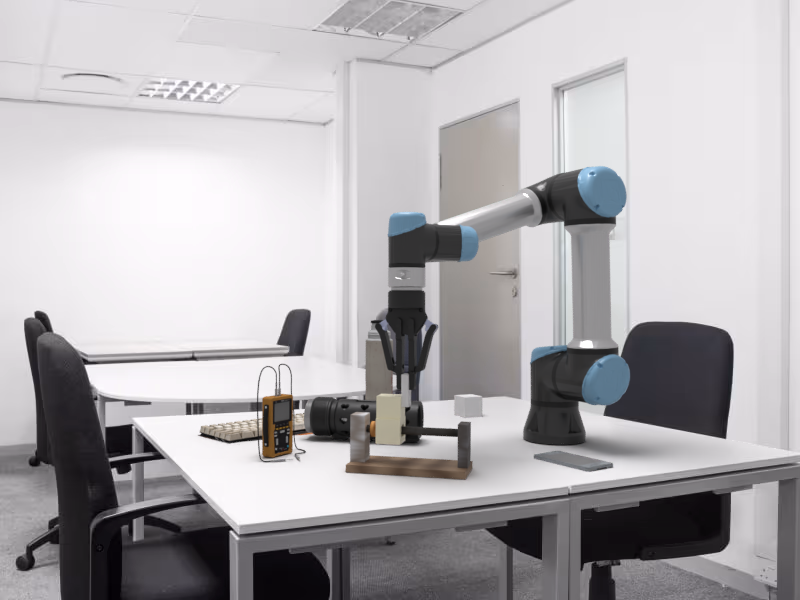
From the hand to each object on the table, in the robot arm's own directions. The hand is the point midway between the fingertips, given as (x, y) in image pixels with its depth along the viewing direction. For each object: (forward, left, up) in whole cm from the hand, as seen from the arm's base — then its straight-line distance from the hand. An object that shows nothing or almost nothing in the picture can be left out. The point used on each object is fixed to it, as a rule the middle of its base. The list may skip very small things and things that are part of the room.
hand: (406, 406), depth 158 cm
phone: (-33, -16, -14) cm, 39 cm away
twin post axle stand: (-1, 0, -13) cm, 13 cm away
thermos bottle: (+23, -66, -13) cm, 71 cm away
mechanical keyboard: (+42, -35, -14) cm, 57 cm away
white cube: (-2, -74, -13) cm, 75 cm away
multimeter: (+27, -6, -13) cm, 31 cm away
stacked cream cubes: (+3, 0, -8) cm, 8 cm away
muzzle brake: (+17, -29, -13) cm, 36 cm away
